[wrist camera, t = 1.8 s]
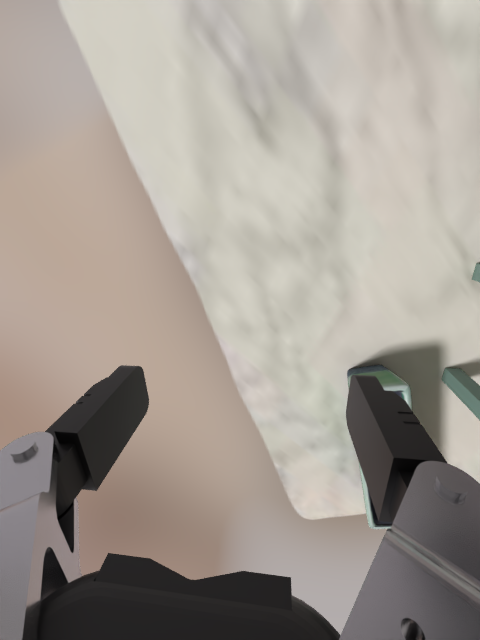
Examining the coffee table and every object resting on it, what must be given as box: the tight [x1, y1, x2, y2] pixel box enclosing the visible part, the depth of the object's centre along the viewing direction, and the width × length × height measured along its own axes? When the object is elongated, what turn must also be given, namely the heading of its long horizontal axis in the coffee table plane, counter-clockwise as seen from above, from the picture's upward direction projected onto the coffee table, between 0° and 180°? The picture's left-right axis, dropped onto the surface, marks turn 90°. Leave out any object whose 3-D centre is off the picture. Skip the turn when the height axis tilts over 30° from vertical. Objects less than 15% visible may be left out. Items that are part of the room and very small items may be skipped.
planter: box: [347, 365, 412, 529], centre depth 42 cm, size 28×7×7 cm, turn 15°
